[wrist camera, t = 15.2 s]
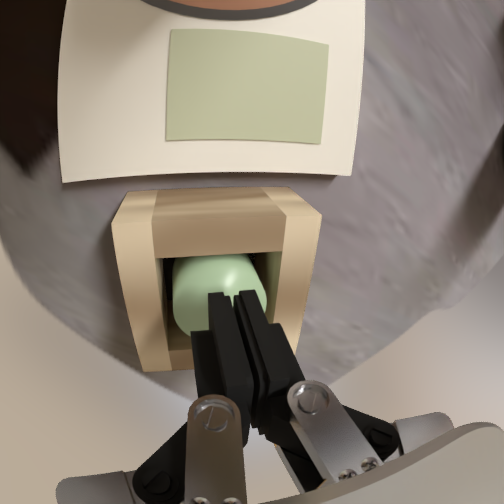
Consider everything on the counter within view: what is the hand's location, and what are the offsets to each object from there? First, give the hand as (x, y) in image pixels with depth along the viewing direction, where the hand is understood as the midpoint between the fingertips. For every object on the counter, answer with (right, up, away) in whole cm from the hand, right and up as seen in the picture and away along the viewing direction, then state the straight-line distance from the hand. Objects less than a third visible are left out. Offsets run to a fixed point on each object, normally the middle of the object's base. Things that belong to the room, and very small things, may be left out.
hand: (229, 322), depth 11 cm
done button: (-1, +2, +4) cm, 5 cm away
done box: (-1, +2, +5) cm, 6 cm away
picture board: (-1, +15, -2) cm, 15 cm away
